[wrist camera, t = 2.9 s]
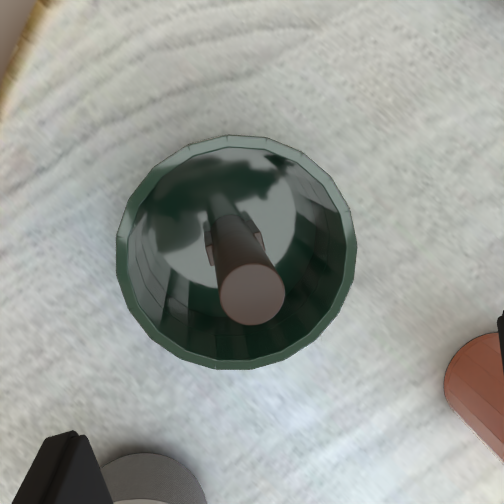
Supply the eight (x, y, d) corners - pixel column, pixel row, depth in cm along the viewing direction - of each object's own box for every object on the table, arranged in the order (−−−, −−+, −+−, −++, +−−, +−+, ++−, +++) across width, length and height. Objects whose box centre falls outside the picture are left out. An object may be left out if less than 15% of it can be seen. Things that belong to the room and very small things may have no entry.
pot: (165, 342, 32) (157, 397, 25) (107, 164, 29) (80, 172, 22) (338, 293, 33) (375, 334, 26) (299, 114, 30) (329, 107, 23)
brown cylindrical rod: (211, 260, 30) (221, 335, 19) (200, 222, 30) (204, 275, 18) (259, 247, 31) (298, 313, 19) (249, 208, 30) (284, 253, 18)
